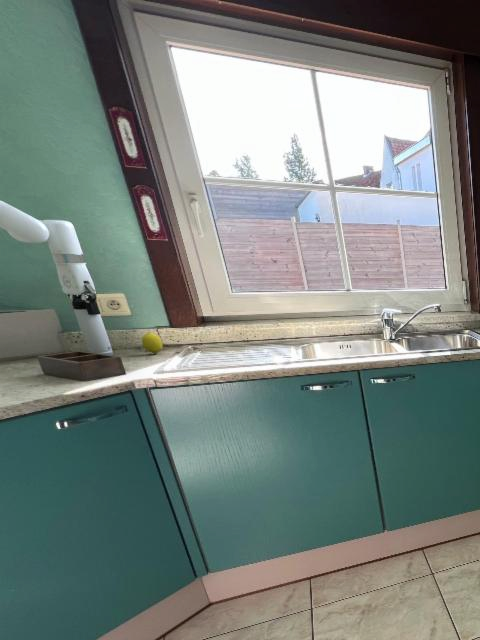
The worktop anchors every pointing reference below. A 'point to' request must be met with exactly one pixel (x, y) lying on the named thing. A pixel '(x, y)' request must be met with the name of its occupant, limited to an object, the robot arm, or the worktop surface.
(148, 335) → the lemon
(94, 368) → the brown divided storage box
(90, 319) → the travel mug
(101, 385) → the worktop surface
